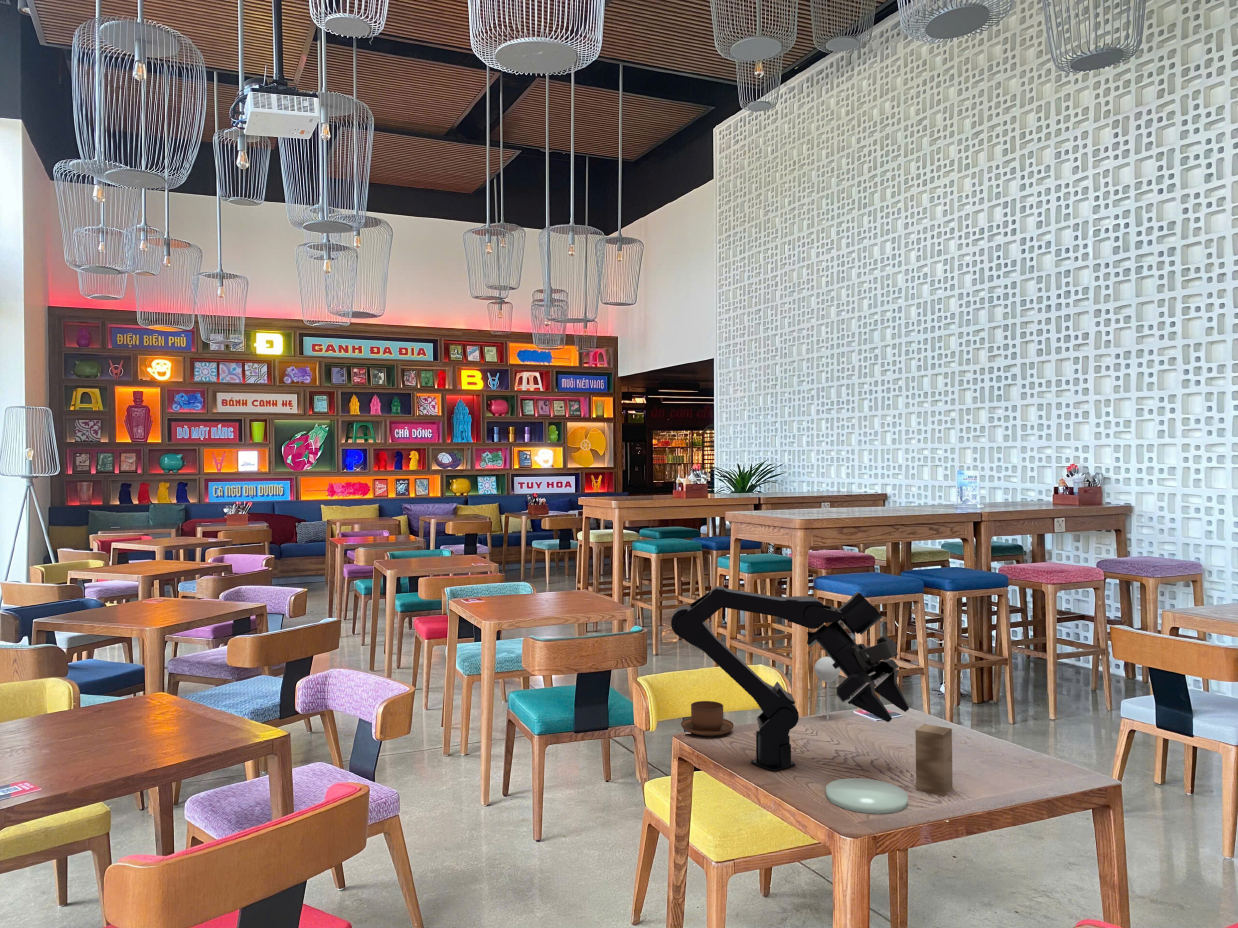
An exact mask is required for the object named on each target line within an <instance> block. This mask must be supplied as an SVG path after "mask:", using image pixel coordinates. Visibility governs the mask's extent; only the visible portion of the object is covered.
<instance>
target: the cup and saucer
mask: <svg viewBox="0 0 1238 928" xmlns="http://www.w3.org/2000/svg"><path fill="white" fill-rule="evenodd" d="M690 714H691V715H690V717H688V718H685V719H683V720H682V721H681V722H680V725H681V728H682V729H683V730H685V731H686V732H688V733H689V734H693V735H697V736H703V737H705V736H706V737H709V736H710V737H715V736H722V735H725V734H728V733H730V732H731V731H732V730H733V728H734V723H733V722H732V721H731V720H728V719H726V718H724V704H723V703H721V702H718V701H712V700H699V701H695V702H693V703H691V704H690Z"/></svg>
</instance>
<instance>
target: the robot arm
mask: <svg viewBox="0 0 1238 928" xmlns="http://www.w3.org/2000/svg"><path fill="white" fill-rule="evenodd" d="M722 608H723V609H730V610H737V611H742V612H747V613H753V614H758V615H759V614H760V615H766V616H771V617H778V618H781V619H783V620H786V621H788V622H790V623H792V624H793V623H794V624H795V625H799V626H801V627H804V628H805V629H806V628H807V629H811V630H815V629H816V630H815V631H807V632H806V633H807V641H806V644H807V645H808V647H813V646H815V644H819V646H820V647H821V648H822V649H823V650H824V651H825V653H826V654H827V655H828V657H831V659H832V660H833V661H834V662H835V663H834V664H833V665H832V666H833V667H834V668H835V669H837V668H840V671H841V672H842V673H843V674H844V675H845V676H846V678H845V679H844V680H843V681H842V682H841V683H840V684H839V685H837V686H836V687H835V689H836V696H837V698H839V700H840V701H841V702H842V703H845V702H847V704H848V705H852V706H855V707H856V708H859V709H861V710H862V711H863V710H864V711H865V712H867V713H869V714H871V715H873V716H874V717H876V718H879V719H881V720H882V721H884V722H886V723H890V722H892V720H893V717H892V715H891V714H890V713H889V711H888V709H887V708H886V707H885V705H884V703H883V702H882V700H881V699H880V697H882V698H883V699H885V700H886V701H888V702H890V704H893V705H894V706H895V707H897V708H898V709H900V710H901V711H902V712H904V713H906V712H908V711H909V710H910V707H909V704H908V702H907V700H906V698H905V697H904V695H903V693H902V690H901V687H900V686H899V682H898V674H899V673H900V672H899V668H900V666H899V665H898V664H897V662H896V661H895V660H894V659H892V658H894V657H896V656H898V655H899V653H898V651H897V649H896V648H897V646H898V643H896V642H894V639H893V638H890V637H889V636H887V635H885V636H881V637H880V638H877V639H876V644H875V645H872V646H870V647H867V646H866V645H865V644H864V643H858V644H857V642H856V641H855V640H854V639H853V638H852V637H851V635H850V634H849V633H848V632H847V630H846V629H844V627H843V626H842V625H841V623H842V624H843V625H844V626H845V627H846V628H847V629H848V631H849V632H850V633H851V634H852V635H855V634H857V635H859V634H860V636H862V635H863V634H864V633H865V632H867V631H869V629H870V628H872V627H873V626H875V625H876V623H877V624H878V622H879V621H880V620H881V619H883V616H882V614H881V613H880V611H878V609H877V608H876V607H875V606H874V604H872V603H870V602H869V601H868V600H867V598H866V597H864V596H863V594H862V593H861V592H859V591H857V592H855V593H854V594H853V595H852V596H851V598H849V600H847V601H846V602H844V604H842V605H841V606H840V607H839V608H837V607H835V606H833V605H827V604H823V602H821V601H820V600H819V599H818V598H816V597H814V596H810V595H809V596H807V595H806V596H805V595H804V596H803V595H802V596H801V595H799V596H798V595H797V596H795V595H794V596H775V595H774V596H773V595H766V594H761V593H757V592H756V593H755V592H750V591H745V590H739V589H733V588H726V587H723V586H720V585H718V586H715V587H714V586H713V588H712V589H711V590H710V591H708V592H707V593H705V594H704V595H702V596H701V597H699V598H698V599H696V600H694V601H693V602H691V603H690V604H686V605H680V606H679V607H677V608H675V610H674V612H673V613H672V615H671V616H672V617H671V621H670V627H671V630H672V631H673V633H674V634H675V635H676V636H678V637H679V638H681V639H682V640H683V641H685V642H686V643H688V644H690V645H692V646H694V647H696V648H697V649H699V650H701V651H703V652H704V654H706V656H708V657H709V658H710V659H711V660H712V661H713V662H714V663H715V664H716V665H717V666H719V667H720V668H721V669H722V670H723V672H725V673H726V674H727V675H728V676H729V677H730V678H732V680H734V681H735V683H737V684H738V685H739V686H740V687H741V689H743V690H744V691H745V692H746V693H748V694H749V696H751V698H752V699H753V700H754V701H755V703H756V705H758V707H759V708H760V710H761V711H762V712H761V713H760V714H758V716H757V717H756V721H757V725H758V730H757V731H755V734H756V735H755V745H756V746H755V749H756V751H755V752H756V753H755V754H756V755H755V757H756V758H755V759H750V764H752V765H755V766H758V767H760V768H763V769H765V770H768V771H771V772H777V771H780V770H784V769H787V768H791V767H794V766H796V762H795V761H792V744H791V743H790V742H791V741H790V740H791V739H790V738H791V736H790V735H789V734H790V731H791V730H792V729H794V728H795V727H796V726H797V724H798V722H799V719H800V718H799V717H800V715H799V711H798V708H797V706H796V701H795V698H794V697H793V693H791V692H787V691H786V690H785V689H784V688H783V687H782V685H781V684H780V682H778V681H776V682H775V684H774V685H771V684H769V683H767V682H766V681H764V679H762V678H761V677H760V676H759V675H758V674H757V673H756V672H755V671H754V670H753V669H751V667H749V666H748V665H747V664H746V663H745V662H744V661H743V660H742V659H741V658H739V656H738V655H736V654H735V653H734V652H733V651H732V650H731V649H730V648H729V647H728V646H727V645H726V644H724V643H723V642H722V640H720V638H718V637H717V636H716V635H715V634H714V632H713V631H712V630H711V628H710V626H709V625H708V623H707V622H706V621H707V620H709V618H711V617H712V616H714V614H716V613H717V612H718V611H719V610H721V609H722ZM829 623H830V624H829ZM827 624H829V625H827ZM877 694H878V695H879V696H880V697H879V696H878V695H877Z"/></svg>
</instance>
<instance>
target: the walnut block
mask: <svg viewBox="0 0 1238 928" xmlns="http://www.w3.org/2000/svg"><path fill="white" fill-rule="evenodd" d="M953 786H954V785H953V729H952V728H950V727H945V726H938V725H933V724H926V723H923V724H922V725H921V726H919V727H918V728H916V729H915V791H917V792H918V791H919V792H922V793H927V794H931V795H936V796H941V797H945V796H946V795H947V794H949V793H950V792H951V791H952V790H953V789H954V788H953Z"/></svg>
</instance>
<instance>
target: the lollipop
mask: <svg viewBox="0 0 1238 928" xmlns="http://www.w3.org/2000/svg"><path fill="white" fill-rule="evenodd" d="M834 663H835V662H834V661H833V660H832V659H831V657H830V656H822V657H821V658H819V659H818V660H817V661H816V662H815V665H814V668H813V669H814V672H815V675H816V676H817V678H818V679H819V680H821V682H826V684H825V685H826V687H825V688H826V721H829V719H830V715H829V712H830V711H829V710H830V709H829V707H830V706H829V703H830V701H829V683H831V682H833V681H836V680H837V679H838V677H839V675H840V673H841V669H840V668H837V669H835V668H834V667H833V666H832V665H833V664H834ZM827 715H829V716H827Z"/></svg>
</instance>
